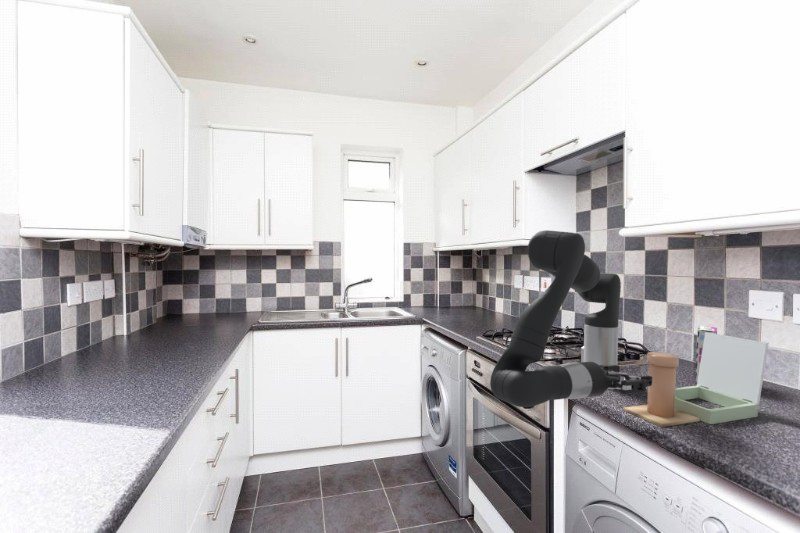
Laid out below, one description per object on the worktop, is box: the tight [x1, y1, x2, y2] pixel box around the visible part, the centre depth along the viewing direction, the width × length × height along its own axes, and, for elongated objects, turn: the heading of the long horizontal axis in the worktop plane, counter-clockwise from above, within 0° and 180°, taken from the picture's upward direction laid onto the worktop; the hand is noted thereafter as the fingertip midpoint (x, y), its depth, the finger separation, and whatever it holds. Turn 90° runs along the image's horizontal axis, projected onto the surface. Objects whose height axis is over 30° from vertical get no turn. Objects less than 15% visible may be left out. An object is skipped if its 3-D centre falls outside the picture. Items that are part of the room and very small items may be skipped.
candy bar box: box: [694, 325, 718, 383], centre depth 121 cm, size 11×5×16 cm, turn 141°
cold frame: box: [674, 385, 759, 425], centre depth 97 cm, size 14×16×3 cm
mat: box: [623, 404, 701, 428], centre depth 93 cm, size 10×12×1 cm
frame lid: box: [696, 332, 769, 405], centre depth 100 cm, size 14×3×15 cm, turn 18°
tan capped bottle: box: [646, 351, 680, 418], centre depth 92 cm, size 6×6×14 cm
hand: (633, 374), depth 90 cm, fingers open, 8 cm apart
